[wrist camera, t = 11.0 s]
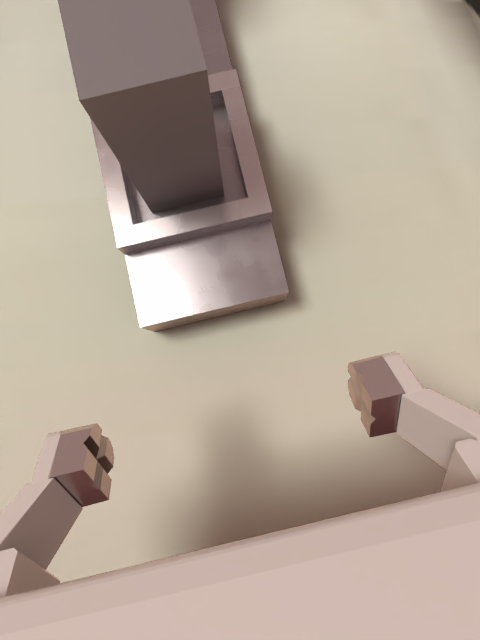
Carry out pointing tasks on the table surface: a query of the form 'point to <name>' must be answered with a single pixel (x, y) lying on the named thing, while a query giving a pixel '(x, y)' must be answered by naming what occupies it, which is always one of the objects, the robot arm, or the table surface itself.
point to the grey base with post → (201, 216)
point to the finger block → (147, 94)
